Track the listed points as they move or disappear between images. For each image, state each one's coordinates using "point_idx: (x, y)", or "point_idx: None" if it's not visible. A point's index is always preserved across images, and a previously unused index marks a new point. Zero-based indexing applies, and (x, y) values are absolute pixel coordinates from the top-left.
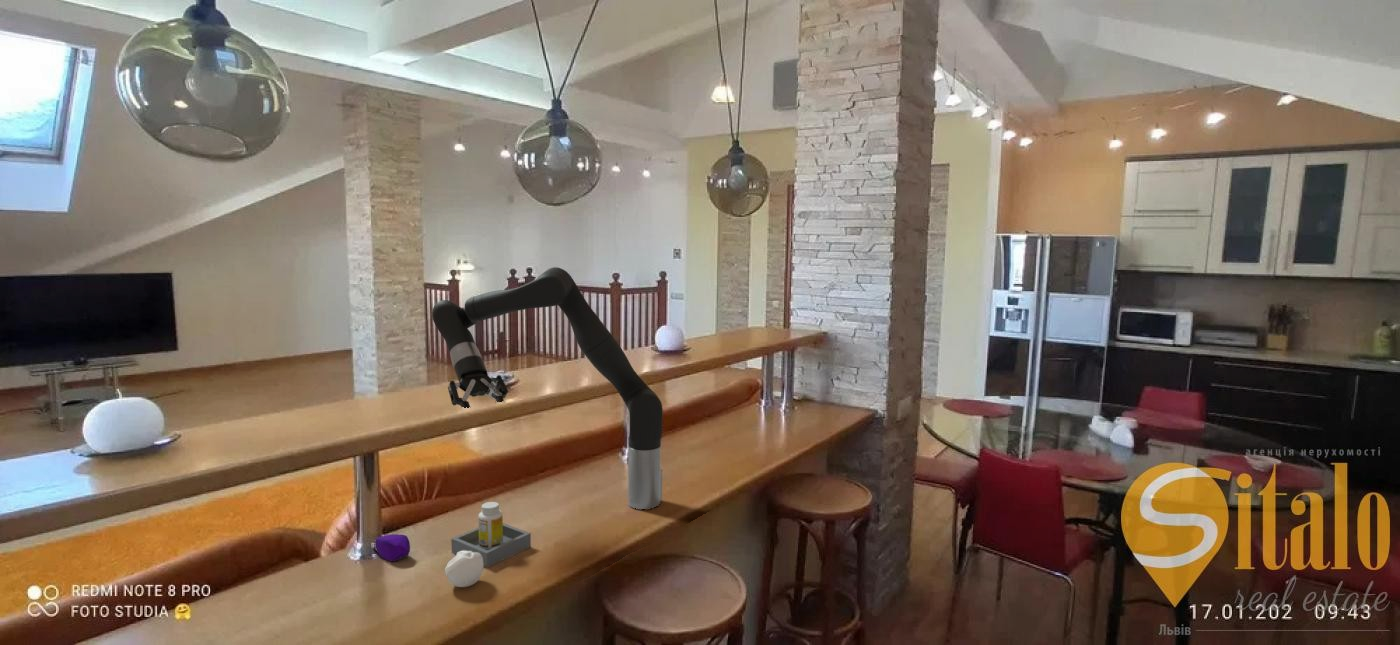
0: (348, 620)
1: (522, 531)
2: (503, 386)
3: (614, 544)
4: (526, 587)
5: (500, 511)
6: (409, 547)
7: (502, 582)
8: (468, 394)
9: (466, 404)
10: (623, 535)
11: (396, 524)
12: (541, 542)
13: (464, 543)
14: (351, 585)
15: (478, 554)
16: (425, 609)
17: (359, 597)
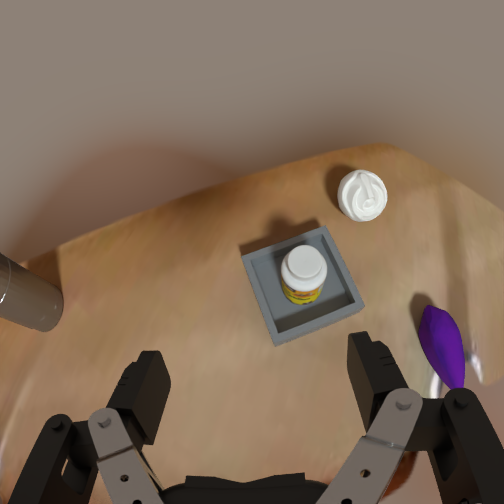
0: (467, 205)
1: (249, 269)
2: (41, 458)
3: (147, 214)
4: (291, 169)
5: (285, 262)
6: (424, 313)
7: (314, 192)
8: (371, 437)
9: (385, 374)
10: (123, 231)
11: (410, 468)
12: (223, 271)
13: (349, 275)
14: (477, 279)
15: (346, 178)
16: (402, 183)
17: (466, 245)
